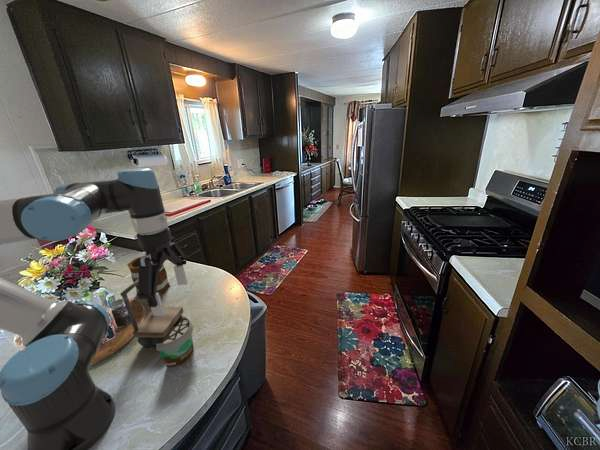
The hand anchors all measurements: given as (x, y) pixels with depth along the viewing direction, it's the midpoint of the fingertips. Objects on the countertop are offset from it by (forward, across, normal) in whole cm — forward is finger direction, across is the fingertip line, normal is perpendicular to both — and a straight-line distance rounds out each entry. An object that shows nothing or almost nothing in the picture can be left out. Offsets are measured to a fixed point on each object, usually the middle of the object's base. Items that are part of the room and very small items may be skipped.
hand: (172, 298), depth 70 cm
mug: (+21, +38, +32) cm, 54 cm away
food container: (+21, -1, 0) cm, 21 cm away
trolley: (+21, +8, +12) cm, 25 cm away
